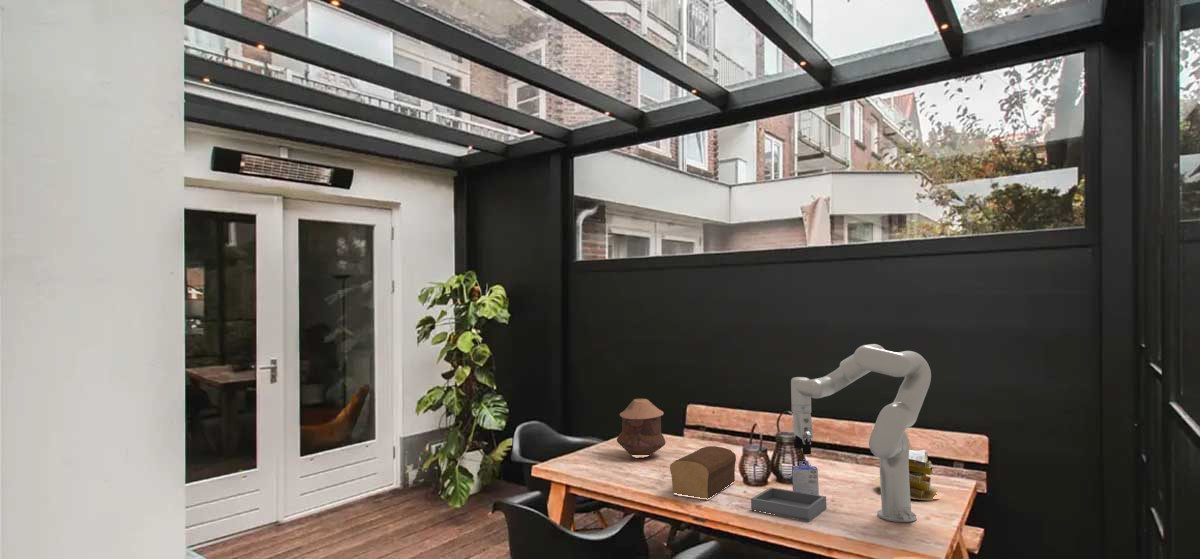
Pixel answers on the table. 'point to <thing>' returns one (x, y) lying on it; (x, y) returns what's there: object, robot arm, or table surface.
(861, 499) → the table surface
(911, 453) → the stacked food on plate
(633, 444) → the pottery vessel
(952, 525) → the table surface
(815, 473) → the ink cartridge box
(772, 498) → the tray
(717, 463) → the bread
